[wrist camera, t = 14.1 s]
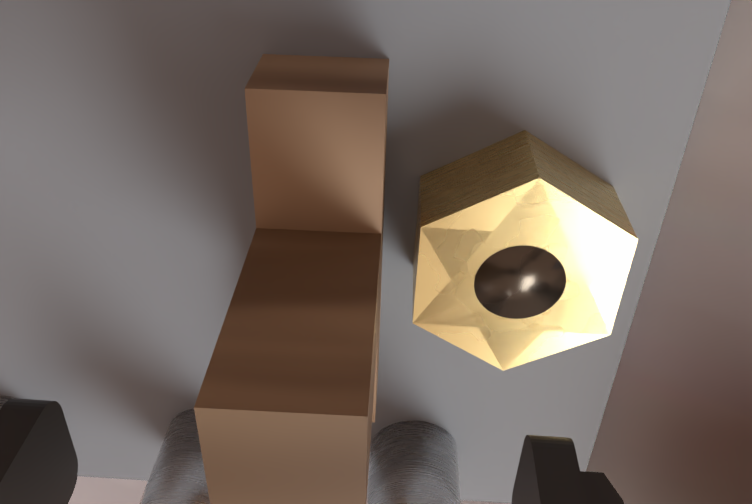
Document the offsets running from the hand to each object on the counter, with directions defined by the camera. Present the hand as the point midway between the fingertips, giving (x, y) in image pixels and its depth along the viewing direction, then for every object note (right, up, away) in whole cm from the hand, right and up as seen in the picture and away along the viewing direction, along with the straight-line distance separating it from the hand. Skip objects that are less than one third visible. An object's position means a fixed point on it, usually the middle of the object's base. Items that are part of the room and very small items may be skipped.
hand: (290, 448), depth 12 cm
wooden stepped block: (0, +4, +7) cm, 8 cm away
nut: (+5, +4, +7) cm, 9 cm away
